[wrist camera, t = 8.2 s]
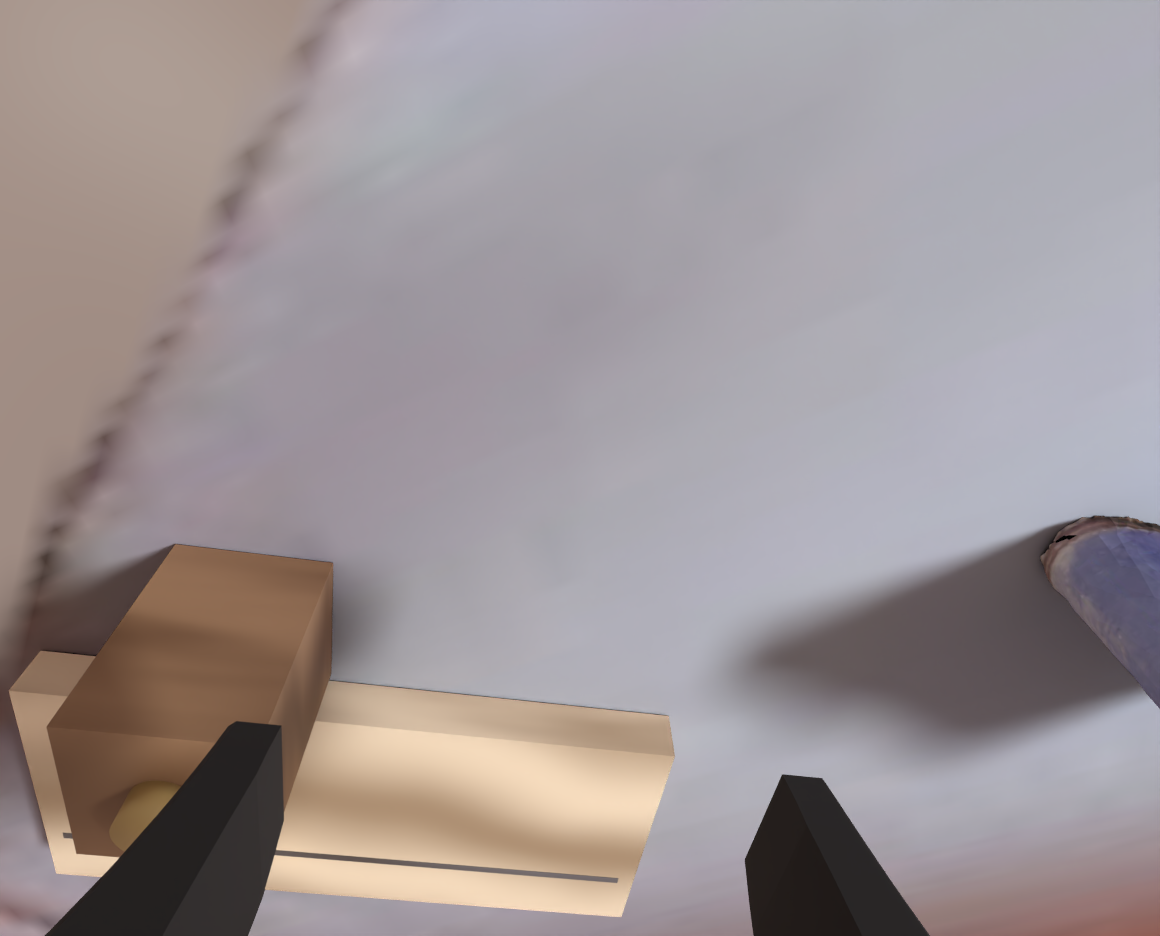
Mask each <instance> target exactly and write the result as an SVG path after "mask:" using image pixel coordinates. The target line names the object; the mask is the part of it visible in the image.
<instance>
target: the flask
mask: <svg viewBox="0 0 1160 936" xmlns="http://www.w3.org/2000/svg"><path fill="white" fill-rule="evenodd" d="M1064 535H1065V536H1068V535H1077V536H1075V537H1073V538H1072V539H1070V540H1068V539H1066V540H1063V541H1060V542H1057V543H1056V541H1057V540H1058V539H1059V538H1060V537H1062V536H1064ZM1054 541H1055V542H1054V543H1052V544H1050V545H1049V550H1047V551H1046V552H1045V554H1043V555H1042V556H1040V558H1041V562H1042V564H1043V566H1044V570H1045V573H1046V576H1047V578H1048V581H1049V582H1050V583H1051V584H1052V586H1053V588H1054V589H1055V590H1057V591H1058V592H1059V593H1060V594H1061V595H1062V596H1064V597H1065V598H1066V599H1067V600H1068V602H1069V603H1070V605H1071V607H1072V608H1073V610H1074V611H1075V612H1076V613H1077V614H1078V615H1079V616H1080V617H1081V619H1082V620H1083V621H1084V622H1085V623H1086V624H1087V625H1088V626H1089V627H1090V628H1091V630H1092V631H1093V632H1094V633H1095V634H1096V635H1097V636H1098V637H1099V639H1100V640H1101V641H1102V642H1103V643H1104V644H1105V646H1106V647H1107V648H1108V649H1109V650H1110V651H1111V653H1112V654H1113V655H1114V656H1115V657H1116V658H1117V659H1118V660H1119V661H1120V662H1121V664H1122V665H1123V666H1124V667H1125V668H1126V669H1127V670H1128V671H1129V672H1130V673H1131V674H1132V675H1133V676H1134V677H1135V679H1136V680H1137V681H1138V683H1139V684H1140V685H1141V687H1142V688H1143V689H1144V691H1145V692H1146V693H1147V694H1148V696H1149V697H1150V698H1151V699H1152V700H1153V701H1154V703H1155V704H1156V705H1157V706H1158V707H1159V708H1160V526H1158V525H1157V524H1150V523H1144V522H1143V521H1139V520H1138V519H1134V518H1129V516H1128V517H1127V518H1123V517H1118V518H1114V517H1104V516H1102V517H1101V516H1095V517H1094V518H1092V519H1091V518H1085V517H1082V518H1081V519H1080V520H1078V521H1077V522H1075V523H1073V524H1070V525H1067V526H1066V527H1065V528H1063V529H1062V530H1060V531H1059V532H1058V534H1057V536H1056V537H1055V539H1054Z"/></svg>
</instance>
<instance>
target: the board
mask: <svg viewBox="0 0 1160 936" xmlns="http://www.w3.org/2000/svg"><path fill="white" fill-rule="evenodd" d="M95 657H96V656H87V655H78V654H68V653H58V652H49V651H40V652H39V653H38V654H37V656H36V657H35V658H34V659H33V661H32V662H31V663H30V664H29V666H28V667H27V668H26V669H25V671H24V672H23V673H22V675H21V676H20V677H19V678H18V680H17V681H16V682H15V683H14V685H13V686H12V687H11V688H10V690H9V694H10V698H11V702H12V706H13V709H14V713H15V717H16V721H17V725H18V729H19V732H20V736H21V740H22V744H23V748H24V751H25V755H26V759H27V763H28V767H29V770H30V774H31V778H32V782H33V786H34V790H35V793H36V797H37V801H38V805H39V809H40V812H41V816H42V820H43V824H44V828H45V832H46V835H47V839H48V843H49V847H50V851H51V854H52V858H53V862H54V866H55V870H56V874H68V875H81V876H94V877H102V876H103V875H104V874H105V873H106V872H107V871H108V870H109V869H110V868H111V866H112V865H113V864H114V863H115V862H116V861H117V860H118V859H119V858H120V857H108V856H96V855H83V854H76V850H75V846H74V842H73V837H72V833H71V829H70V825H69V820H68V816H67V812H66V808H65V804H64V799H63V795H62V791H61V787H60V782H59V778H58V774H57V770H56V766H55V761H54V757H53V753H52V749H51V744H50V740H49V736H48V732H47V728H46V727H47V725H48V724H49V722H50V721H51V719H52V718H53V717H54V715H55V714H56V712H57V711H58V710H59V708H60V707H61V705H62V704H63V703H64V701H65V700H66V698H67V697H68V695H69V694H70V693H71V691H72V690H73V688H74V687H75V686H76V684H77V683H78V681H79V680H80V678H81V677H82V676H83V674H84V673H85V671H86V670H87V669H88V667H89V666H90V664H91V663H92V661H93V660H94V659H95ZM674 757H675V755H674V748H673V742H672V735H671V728H670V722H669V716H664V715H654V714H645V713H635V712H626V711H616V710H606V709H597V708H587V707H578V706H568V705H558V704H549V703H539V702H529V701H520V700H510V699H501V698H491V697H481V696H472V695H462V694H453V693H443V692H433V691H424V690H414V689H404V688H395V687H385V686H376V685H366V684H356V683H347V682H337V681H329V682H328V685H327V687H326V690H325V693H324V696H323V699H322V702H321V705H320V708H319V711H318V714H317V717H316V720H315V723H314V726H313V729H312V732H311V735H310V738H309V741H308V743H307V746H306V749H305V752H304V755H303V758H302V761H301V764H300V767H299V770H298V773H297V776H296V779H295V782H294V785H293V788H292V791H291V794H290V796H289V799H288V802H287V805H286V808H285V811H284V822H283V826H282V829H281V833H280V837H279V840H278V844H277V848H276V851H275V855H274V859H273V862H272V866H271V870H270V873H269V877H268V880H267V884H266V887H265V890H276V891H289V892H302V893H315V894H328V895H341V896H354V897H367V898H380V899H393V900H406V901H419V902H431V903H444V904H457V905H470V906H483V907H496V908H509V909H522V910H535V911H548V912H561V913H574V914H587V915H600V916H613V917H621V916H622V913H623V910H624V907H625V904H626V901H627V898H628V895H629V892H630V889H631V886H632V883H633V880H634V877H635V874H636V871H637V868H638V865H639V862H640V859H641V856H642V853H643V850H644V847H645V844H646V841H647V838H648V835H649V832H650V829H651V826H652V823H653V820H654V817H655V814H656V811H657V808H658V805H659V802H660V799H661V796H662V793H663V790H664V787H665V784H666V781H667V778H668V775H669V772H670V769H671V766H672V763H673V760H674Z"/></svg>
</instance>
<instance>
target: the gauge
mask: <svg viewBox="0 0 1160 936" xmlns="http://www.w3.org/2000/svg"><path fill="white" fill-rule="evenodd" d="M332 604H333V563H329V562H321V561H313V560H304V559H296V558H287V557H279V556H270V555H262V554H254V553H245V552H237V551H228V550H220V549H212V548H203V547H195V546H186V545H178V544H175V545H174V547H173V548H172V550H171V551H170V552H169V554H168V555H167V557H166V558H165V559H164V561H163V562H162V564H161V565H160V567H159V568H158V569H157V571H156V572H155V574H154V575H153V576H152V578H151V579H150V581H149V582H148V584H147V585H146V586H145V588H144V589H143V591H142V592H141V593H140V595H139V596H138V598H137V599H136V601H135V602H134V603H133V605H132V606H131V608H130V609H129V610H128V612H127V613H126V615H125V616H124V618H123V619H122V620H121V622H120V623H119V625H118V626H117V627H116V629H115V630H114V632H113V633H112V635H111V636H110V637H109V639H108V640H107V642H106V643H105V644H104V646H103V647H102V649H101V650H100V652H99V653H98V654H97V656H96V657H95V659H94V660H93V661H92V663H91V664H90V666H89V667H88V669H87V670H86V671H85V673H84V674H83V676H82V677H81V678H80V680H79V681H78V683H77V684H76V686H75V687H74V688H73V690H72V691H71V693H70V694H69V695H68V697H67V698H66V700H65V701H64V703H63V704H62V705H61V707H60V708H59V710H58V711H57V712H56V714H55V715H54V717H53V718H52V719H51V721H50V722H49V724H48V725H47V727H46V728H47V732H48V736H49V740H50V744H51V749H52V753H53V757H54V761H55V766H56V770H57V774H58V778H59V782H60V787H61V791H62V795H63V799H64V804H65V808H66V812H67V816H68V820H69V825H70V829H71V833H72V837H73V842H74V846H75V850H76V854H83V855H96V856H108V857H120V856H121V855H122V854H123V853H124V852H125V851H126V850H127V849H128V847H129V846H130V845H131V844H132V843H133V842H134V841H135V840H136V838H137V837H138V836H139V835H140V834H141V833H142V832H143V830H144V829H145V828H146V827H147V826H148V825H149V824H150V823H151V821H152V820H153V819H154V818H155V817H156V816H157V815H158V814H159V812H160V811H161V810H162V809H163V808H164V806H165V805H166V804H167V803H168V802H169V800H170V799H171V798H172V797H173V796H174V794H175V793H176V792H177V791H178V790H179V788H180V787H181V786H182V785H183V784H184V782H185V781H186V780H187V779H188V777H189V776H190V775H191V774H192V773H193V771H194V770H195V769H196V768H197V766H198V765H199V764H200V762H201V761H202V760H203V759H204V757H205V756H206V755H207V753H208V752H209V751H210V750H211V748H212V747H213V746H214V744H215V743H216V742H217V740H218V739H219V738H220V736H221V735H222V734H223V732H224V731H225V730H226V728H227V727H228V726H229V725H231V724H232V723H234V722H236V721H241V722H251V723H261V724H272V725H282V763H283V801H284V811H285V808H286V805H287V802H288V799H289V796H290V794H291V791H292V788H293V785H294V782H295V779H296V776H297V773H298V770H299V767H300V764H301V761H302V758H303V755H304V752H305V749H306V746H307V743H308V741H309V738H310V735H311V732H312V729H313V726H314V723H315V720H316V717H317V714H318V711H319V708H320V705H321V702H322V699H323V696H324V693H325V690H326V687H327V685H328V682H329V679H330V676H331V662H332Z"/></svg>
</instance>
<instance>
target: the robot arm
mask: <svg viewBox="0 0 1160 936" xmlns="http://www.w3.org/2000/svg"><path fill="white" fill-rule="evenodd" d="M283 822H284V801H283V763H282V725H272V724H261V723H251V722H241V721H236V722H234V723H232V724H231V725H229V726H228V727H227V728H226V730H225V731H224V732H223V734H222V735H221V736H220V738H219V739H218V740H217V742H216V743H215V744H214V746H213V747H212V748H211V750H210V751H209V752H208V753H207V755H206V756H205V757H204V759H203V760H202V761H201V762H200V764H199V765H198V766H197V768H196V769H195V770H194V771H193V773H192V774H191V775H190V776H189V777H188V779H187V780H186V781H185V782H184V784H183V785H182V786H181V787H180V788H179V790H178V791H177V792H176V793H175V794H174V796H173V797H172V798H171V799H170V800H169V802H168V803H167V804H166V805H165V806H164V808H163V809H162V810H161V811H160V812H159V814H158V815H157V816H156V817H155V818H154V819H153V820H152V821H151V823H150V824H149V825H148V826H147V827H146V828H145V829H144V830H143V832H142V833H141V834H140V835H139V836H138V837H137V838H136V840H135V841H134V842H133V843H132V844H131V845H130V846H129V847H128V849H127V850H126V851H125V852H124V853H123V854H122V855H121V856H120V858H119V859H118V860H117V861H116V862H115V863H114V864H113V865H112V866H111V868H110V869H109V870H108V871H107V872H106V873H105V874H104V875H103V876H102V877H101V878H100V879H99V880H98V881H97V882H96V883H95V884H94V886H93V887H92V888H91V889H90V890H89V891H88V892H87V893H86V894H85V895H84V896H83V897H82V898H81V899H80V900H79V901H78V902H77V903H76V904H75V905H74V906H73V907H72V908H71V909H70V910H69V911H68V912H67V914H66V915H65V916H64V917H63V918H62V919H61V920H60V921H59V922H58V923H57V924H56V925H55V926H54V927H53V928H52V929H51V930H50V931H49V932H48V933H47V934H46V935H45V936H248V934H249V932H250V929H251V926H252V924H253V921H254V919H255V916H256V913H257V911H258V908H259V905H260V903H261V900H262V897H263V894H264V891H265V887H266V884H267V880H268V877H269V873H270V870H271V866H272V862H273V859H274V855H275V851H276V848H277V844H278V840H279V837H280V833H281V829H282V826H283ZM745 866H746V875H747V885H748V895H749V903H750V911H751V919H752V927H753V935H754V936H930V935H929V934H928V932H927V931H926V930H925V928H924V927H923V925H922V924H921V923H920V921H919V920H918V918H917V917H916V916H915V914H914V913H913V911H912V910H911V909H910V907H909V906H908V904H907V903H906V902H905V900H904V899H903V897H902V896H901V895H900V893H899V892H898V890H897V889H896V887H895V886H894V884H893V883H892V882H891V880H890V879H889V877H888V876H887V874H886V873H885V871H884V870H883V868H882V867H881V865H880V864H879V862H878V861H877V860H876V858H875V857H874V855H873V854H872V852H871V851H870V849H869V848H868V846H867V845H866V843H865V842H864V840H863V839H862V837H861V836H860V834H859V833H858V831H857V830H856V828H855V827H854V825H853V824H852V822H851V821H850V819H849V818H848V816H847V815H846V813H845V812H844V810H843V808H842V807H841V805H840V804H839V802H838V801H837V799H836V798H835V796H834V795H833V793H832V792H831V790H830V789H829V788H828V786H827V785H826V783H825V782H824V780H823V779H822V778H813V777H803V776H793V775H783V774H782V776H781V779H780V781H779V783H778V786H777V788H776V790H775V792H774V795H773V797H772V799H771V801H770V804H769V806H768V808H767V811H766V813H765V815H764V817H763V820H762V822H761V824H760V826H759V829H758V831H757V833H756V836H755V838H754V840H753V842H752V845H751V847H750V849H749V851H748V854H747V856H746V858H745Z"/></svg>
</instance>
